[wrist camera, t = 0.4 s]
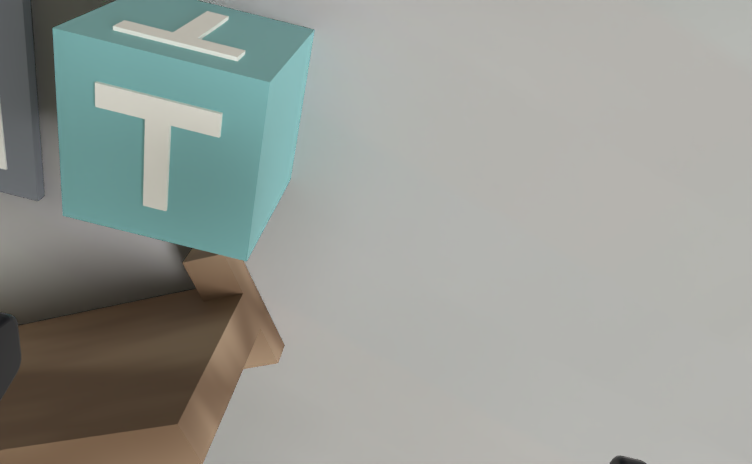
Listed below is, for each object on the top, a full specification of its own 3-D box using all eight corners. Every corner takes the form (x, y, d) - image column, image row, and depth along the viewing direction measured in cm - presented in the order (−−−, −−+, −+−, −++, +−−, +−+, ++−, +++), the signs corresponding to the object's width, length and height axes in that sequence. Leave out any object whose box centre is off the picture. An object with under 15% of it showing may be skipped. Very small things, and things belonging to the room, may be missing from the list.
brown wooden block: (284, 345, 25) (227, 501, 19) (-2, 395, 28) (-127, 540, 22) (232, 238, 23) (148, 378, 17) (-72, 307, 26) (-232, 443, 20)
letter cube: (290, 178, 21) (245, 263, 17) (144, 142, 21) (60, 217, 17) (315, 25, 18) (269, 79, 14) (147, -17, 18) (49, 24, 14)
